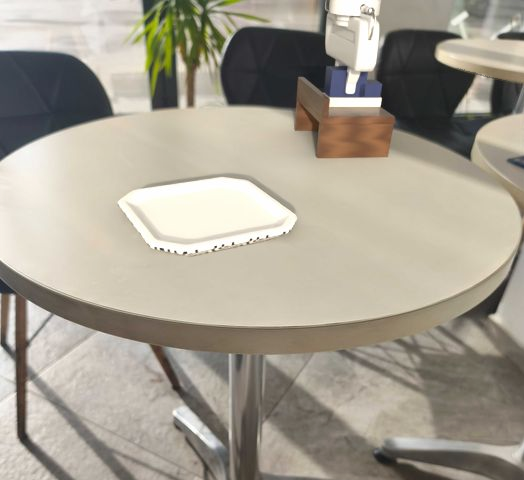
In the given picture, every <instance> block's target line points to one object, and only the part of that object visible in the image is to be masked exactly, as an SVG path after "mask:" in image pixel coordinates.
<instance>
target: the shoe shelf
mask: <svg viewBox="0 0 524 480" xmlns="http://www.w3.org/2000/svg"><path fill="white" fill-rule="evenodd" d="M295 100H296V102H295V115H294V128H293V129H294V131H298V132H300V131H304V132H305V131H307V132H311V131H313V132H314V131H318V132H317V141H316V142H317V143H316V151H315V157H316V158H317V159H342V158H343V159H347V158H348V159H350V158H355V159H356V158H388V157H389V152H390V146H391V141H392V136H393V130H394V126H395V121H396V116H395V115H393V114H391V112H389V111H387V110H386V109H384V108H383V107H381V106H380V107H329V105H330V98H328V97H327V96H326V95H325V94H324V92H322V90H320V89H319V88H318V87H316V85H314V84H313V83H312V82H311V81H309V79H307V78H306V77H304V76H298V77H297V89H296V99H295Z"/></svg>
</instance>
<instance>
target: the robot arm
mask: <svg viewBox="0 0 524 480" xmlns="http://www.w3.org/2000/svg"><path fill="white" fill-rule="evenodd" d="M381 5H382V0H325V4H324V9H325V11H326V12H327V14H326V20H325V21H326V22H325V39H324V40H325V41H324V42H325V43H324V44H325V46H324V47H325V54H326V55H327V56H329V57H331V58H333V59H334V60H335V61H334V66H344V67H348V69H347V73H348V75H347V80H346V82H345V83H344V92H346V93H347V94H353V93H354V92H355V87H356V83H357V81H358V78H359V76H360V72H368V73H369V72H373V71H374V70H375V67H376V65H377V61H378V60H377V59H378V52H379V51H378V50H379V44H380V43H379V42H380V22H379V20H377V17H379V16H380V12H381Z"/></svg>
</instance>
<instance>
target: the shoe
mask: <svg viewBox="0 0 524 480" xmlns="http://www.w3.org/2000/svg"><path fill="white" fill-rule="evenodd" d="M347 69H348V66H346V67H344V66H335V65H331V66H330V65H326V67H325V76H324V85H323V86H324V87H323V93H324V94H325V95H326V96H327V97H328V98H330V105H329V107H381V105H382V99H383V98H382V97H381V96H382V95H381V94H382V87H383V83H382V82H380V81H378V80H376V79H368V74H369V72H360V76H359V78H358V81H357V83H356V87H355V92H354V93H353V94H347V93H346V92H344V83H345V82H346V80H347V75H348V73H347Z"/></svg>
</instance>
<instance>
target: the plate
mask: <svg viewBox="0 0 524 480" xmlns="http://www.w3.org/2000/svg"><path fill="white" fill-rule="evenodd" d="M117 206H118V207H119V209H120V211H122V213H123V214H124V215H125V217H126V219H128V220H129V222H130V224H132V226H133V227H134V229H136V231H137V232H138V234H139V235H140V237H142V239H143V240H144V242H145V243H146V244H147V245H148V247H149V248H151V249H153V250H156V251H160V252H164V253H168V254H169V253H170V254H174V255H180V256H185V257H192V256H193V257H194V256H200V255H204V254H209V253H213V252H219V251H223V250H228V249H232V248H238V247H242V246H246V245H252V244H256V243H261V242H266V241H270V240H273V239H275V238H278V237H281V236H285V235H287V234H289V233H290V232H291V231H292V230H293V229H294V227H295V225H296V223H297V221H298V216H297V215H296V213H294V212H292V211H291V210H290V209H288V208H287V207H285V206H284V205H283V204H281V202H279V201H277V200H276V199H275V198H273V197H272V196H270V195H269V194H267V192H266V191H263V190H262V189H261V188H259V187H258V186H257V185H256V184H254V183H253V182H251V181H250V180H247V179H242V178H234V177H228V176H227V177H226V176H219V177H212V178H204V179H199V180H191V181H184V182H180V183H179V182H177V183H171V184H164V185H157V186H150V187H143V188H136V189H133V190H131V191H129V192H128V193H127V194H125V195H124V196H122V197H121V198H120V199H119V200H118V201H117Z"/></svg>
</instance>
